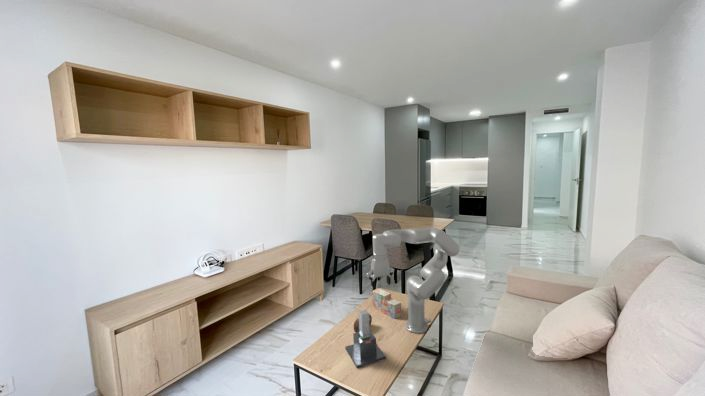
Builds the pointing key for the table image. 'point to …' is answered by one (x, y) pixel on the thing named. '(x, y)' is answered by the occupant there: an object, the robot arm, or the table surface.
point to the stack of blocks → (386, 303)
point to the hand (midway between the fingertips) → (381, 285)
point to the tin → (356, 324)
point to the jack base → (364, 351)
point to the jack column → (364, 324)
